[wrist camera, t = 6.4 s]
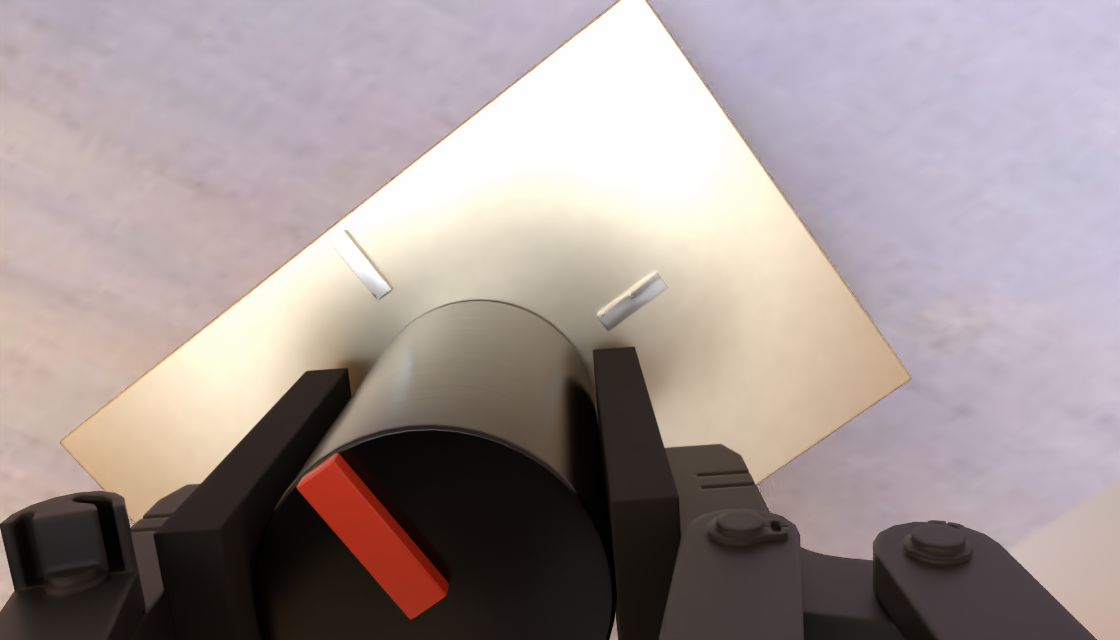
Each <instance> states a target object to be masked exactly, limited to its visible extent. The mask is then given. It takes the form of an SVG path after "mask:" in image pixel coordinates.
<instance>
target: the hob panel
mask: <svg viewBox="0 0 1120 640" xmlns="http://www.w3.org/2000/svg"><path fill="white" fill-rule="evenodd" d="M468 301H489V302H498V303H503V304H508V305H512V306H515V307H518V308H521V309H524V310H526V311H528V312H530V313H532V314H534V315H536V316H538V317H540V318H542V319H543V320H545V321H546V322H548V323H549V324H551V325H552V326H553V327H555V328H556V329H557V330H558V331H559V332H560V333H561V334H562V335H564V336H565V338H566V339H567V340H568V341H569V342H570V343H571V344H572V346H573V347H574V348H575V350H576V351H577V353H578V354H579V356H580V357H581V359H582V361H583V363H584V365H585V367H586V369H587V371H588V374H589V377H590V380H591V383H592V386H593V391H594V397H595V403H596V412H597V402H596V388H595V374H594V360H593V350H595V349H609V348H622V347H635V349H636V352H637V356H638V359H639V363H640V366H641V369H642V373H643V376H644V380H645V383H646V387H647V390H648V393H649V397H650V400H651V404H652V407H653V410H654V414H655V417H656V421H657V424H658V427H659V431H660V434H661V438H662V441H663V444H664V448H668V447H682V446H696V445H710V444H722V445H724V446H726V447H728V448H729V449H731V450H733V451H734V452H736V453H738V454H740V455H741V456H742V458H743V460H744V462H745V464H746V466H747V468H748V470H749V473H750V474H751V476H752V478H753V480H754V482H755V485H757V484H758V483H760V482H761V481H763V480H764V479H766V478H767V477H769V476H770V475H771V474H773V473H774V472H776V471H777V470H779V469H780V468H782V467H783V466H785V465H786V464H788V463H789V462H790V461H792V460H793V459H795V458H796V457H798V456H799V455H801V454H802V453H804V452H805V451H807V450H808V449H809V448H811V447H812V446H814V445H815V444H817V443H818V442H820V441H821V440H823V439H824V438H826V437H827V436H828V435H830V434H831V433H833V432H834V431H836V430H837V429H839V428H840V427H842V426H843V425H845V424H846V423H847V422H849V421H850V420H852V419H853V418H855V417H856V416H858V415H859V414H861V413H862V412H864V411H865V410H866V409H868V408H869V407H871V406H872V405H874V404H875V403H877V402H878V401H880V400H881V399H883V398H884V397H885V396H887V395H888V394H890V393H891V392H893V391H894V390H896V389H897V388H899V387H900V386H902V385H903V384H904V383H906V382H907V381H909V380H910V379H911V375H910V374H909V373H908V371H907V370H906V368H905V367H904V365H903V364H902V363H901V361H900V360H899V358H898V357H897V355H896V354H895V353H894V351H893V350H892V348H891V347H890V345H889V344H888V343H887V341H886V340H885V338H884V337H883V335H882V334H881V333H880V331H879V330H878V328H877V327H876V326H875V324H874V323H873V321H872V320H871V318H870V317H869V316H868V314H867V313H866V311H865V310H864V308H863V307H862V306H861V304H860V303H859V301H858V300H857V298H856V297H855V296H854V294H853V293H852V291H851V290H850V288H849V287H848V286H847V284H846V283H845V281H844V280H843V279H842V277H841V276H840V274H839V273H838V271H837V270H836V269H835V267H834V266H833V264H832V263H831V261H830V260H829V259H828V257H827V256H826V254H825V253H824V251H823V250H822V249H821V247H820V246H819V244H818V243H817V241H816V240H815V239H814V237H813V236H812V234H811V233H810V231H809V230H808V229H807V227H806V226H805V224H804V223H803V222H802V220H801V219H800V217H799V216H798V214H797V213H796V212H795V210H794V209H793V207H792V206H791V204H790V203H789V202H788V200H787V199H786V197H785V196H784V194H783V193H782V192H781V190H780V189H779V187H778V186H777V184H776V183H775V182H774V180H773V179H772V177H771V176H770V175H769V173H768V172H767V170H766V169H765V167H764V166H763V165H762V163H761V162H760V160H759V159H758V157H757V156H756V155H755V153H754V152H753V150H752V149H751V147H750V146H749V145H748V143H747V142H746V140H745V139H744V137H743V136H742V135H741V133H740V132H739V130H738V129H737V128H736V126H735V125H734V123H733V122H732V120H731V119H730V118H729V116H728V115H727V113H726V112H725V110H724V109H723V108H722V106H721V105H720V103H719V102H718V100H717V99H716V98H715V96H714V95H713V93H712V92H711V90H710V89H709V88H708V86H707V85H706V83H705V82H704V80H703V79H702V78H701V76H700V75H699V73H698V72H697V71H696V69H695V68H694V66H693V65H692V63H691V62H690V61H689V59H688V58H687V56H686V55H685V53H684V52H683V51H682V49H681V48H680V46H679V45H678V43H677V42H676V41H675V39H674V38H673V36H672V35H671V33H670V32H669V31H668V29H667V28H666V26H665V25H664V24H663V22H662V21H661V19H660V18H659V16H658V15H657V14H656V12H655V11H654V9H653V8H652V6H651V5H650V4H649V2H648V1H647V0H618V1H616V2H615V3H614V4H612V5H611V6H610V7H609V8H607V9H606V10H605V11H604V12H602V13H601V14H600V15H599V16H597V17H596V18H595V19H593V20H592V21H591V22H590V23H588V24H587V25H586V26H585V27H583V28H582V29H581V30H580V31H578V32H577V33H576V34H574V35H573V36H572V37H571V38H569V39H568V40H567V41H566V42H564V43H563V44H562V45H561V46H559V47H558V48H557V49H555V50H554V51H553V52H552V53H550V54H549V55H548V56H547V57H545V58H544V59H543V60H542V61H540V62H539V63H538V64H536V65H535V66H534V67H533V68H531V69H530V70H529V71H528V72H526V73H525V74H524V75H523V76H521V77H520V78H519V79H517V80H516V81H515V82H514V83H512V84H511V85H510V86H509V87H507V88H506V89H505V90H504V91H502V92H501V93H500V94H498V95H497V96H496V97H495V98H493V99H492V100H491V101H490V102H488V103H487V104H486V105H485V106H483V107H482V108H481V109H479V110H478V111H477V112H476V113H474V114H473V115H472V116H471V117H469V118H468V119H467V120H466V121H464V122H463V123H462V124H460V125H459V126H458V127H457V128H455V129H454V130H453V131H452V132H450V133H449V134H448V135H447V136H445V137H444V138H443V139H441V140H440V141H439V142H438V143H436V144H435V145H434V146H433V147H431V148H430V149H429V150H428V151H426V152H425V153H424V154H422V155H421V156H420V157H419V158H417V159H416V160H415V161H414V162H412V163H411V164H410V165H409V166H407V167H406V168H405V169H403V170H402V171H401V172H400V173H398V174H397V175H396V176H395V177H393V178H392V179H391V180H390V181H388V182H387V183H386V184H384V185H383V186H382V187H381V188H379V189H378V190H377V191H376V192H374V193H373V194H372V195H371V196H369V197H368V198H367V199H365V200H364V201H363V202H362V203H360V204H359V205H358V206H357V207H355V208H354V209H353V210H352V211H350V212H349V213H348V214H346V215H345V216H344V217H343V218H341V219H340V220H339V221H338V222H336V223H335V224H334V225H333V226H331V227H330V228H329V229H327V230H326V231H325V232H324V233H322V234H321V235H320V236H319V237H317V238H316V239H315V240H314V241H312V242H311V243H310V244H308V245H307V246H306V247H305V248H303V249H302V250H301V251H300V252H298V253H297V254H296V255H295V256H293V257H292V258H291V259H289V260H288V261H287V262H286V263H284V264H283V265H282V266H281V267H279V268H278V269H277V270H276V271H274V272H273V273H272V274H270V275H269V276H268V277H267V278H265V279H264V280H263V281H262V282H260V283H259V284H258V285H257V286H255V287H254V288H253V289H251V290H250V291H249V292H248V293H246V294H245V295H244V296H243V297H241V298H240V299H239V300H238V301H236V302H235V303H234V304H232V305H231V306H230V307H229V308H227V309H226V310H225V311H224V312H222V313H221V314H220V315H219V316H217V317H216V318H215V319H213V320H212V321H211V322H210V323H208V324H207V325H206V326H205V327H203V328H202V329H201V330H200V331H198V332H197V333H196V334H194V335H193V336H192V337H191V338H189V339H188V340H187V341H186V342H184V343H183V344H182V345H181V346H179V347H178V348H177V349H175V350H174V351H173V352H172V353H170V354H169V355H168V356H167V357H165V358H164V359H163V360H162V361H160V362H159V363H158V364H156V365H155V366H154V367H153V368H151V369H150V370H149V371H148V372H146V373H145V374H144V375H143V376H141V377H140V378H139V379H137V380H136V381H135V382H134V383H132V384H131V385H130V386H129V387H127V388H126V389H125V390H123V391H122V392H121V393H120V394H118V395H117V396H116V397H115V398H113V399H112V400H111V401H110V402H108V403H107V404H106V405H104V406H103V407H102V408H101V409H99V410H98V411H97V412H96V413H94V414H93V415H92V416H91V417H89V418H88V419H87V420H85V421H84V422H83V423H82V424H80V425H79V426H78V427H77V428H75V429H74V430H73V431H72V432H70V433H69V434H68V435H66V436H65V437H64V438H63V439H61V441H60V444H61V445H62V446H63V447H64V448H65V449H66V450H67V451H68V452H69V453H70V454H71V455H72V457H73V458H74V459H75V460H76V461H77V462H78V463H79V464H80V465H81V466H82V467H83V468H84V469H85V470H86V472H87V473H88V474H89V475H90V476H91V477H92V478H93V479H94V480H95V481H96V482H97V483H98V484H99V485H100V487H101V488H102V489H103V490H104V491H105V492H114V493H117V494H119V495H120V496H122V497H124V499H125V504H126V509H127V514H128V517H129V518H130V519H131V520H132V521H133V522H134V523H136V522H137V521H138V520H139V519H143V515H144V514H145V513H146V512H147V511H148V510H149V509H150V508H151V507H152V506H153V505H154V504H155V503H156V502H157V501H158V500H160V499H161V498H163V497H165V496H167V495H169V494H171V493H172V492H174V491H176V490H178V489H180V488H182V487H183V486H185V485H188V484H201V483H202V482H203V481H204V480H205V479H206V477H207V476H208V475H209V474H210V473H211V472H212V471H213V470H214V469H215V468H216V467H217V466H218V465H219V464H220V463H221V461H222V460H223V459H224V458H225V457H226V456H227V455H228V454H229V453H230V452H231V451H232V450H233V449H234V448H235V446H236V445H237V444H238V443H239V442H240V441H241V440H242V439H243V438H244V437H245V436H246V435H247V434H248V433H249V432H250V430H251V429H252V428H253V427H254V426H255V425H256V424H257V423H258V422H259V421H260V420H261V419H262V418H263V417H264V415H265V414H266V413H267V412H268V411H269V410H270V409H271V408H272V407H273V406H274V405H275V404H276V403H277V402H278V401H279V399H280V398H281V397H282V396H283V395H284V394H285V393H286V392H287V391H288V390H289V389H290V388H291V387H292V386H293V385H294V383H295V382H296V381H297V380H298V379H299V378H300V377H301V376H302V375H303V374H304V373H305V372H306V371H311V370H324V369H338V368H348V373H349V380H350V388H351V395H352V396H353V394H354V393H355V392H356V390H357V389H358V387H359V386H360V385H361V383H362V382H363V380H364V379H365V377H366V376H367V375H368V373H369V372H370V370H371V369H372V367H373V366H374V365H375V363H376V362H377V360H378V359H379V357H380V356H381V355H382V353H383V352H384V350H385V349H386V348H387V346H388V345H389V343H390V342H391V341H392V340H393V339H394V338H395V337H396V336H397V334H398V333H399V332H401V331H402V330H403V329H404V328H405V327H406V326H408V325H409V324H410V323H411V322H413V321H415V320H416V319H418V318H419V317H421V316H422V315H424V314H426V313H429V312H431V311H433V310H435V309H438V308H441V307H444V306H447V305H450V304H455V303H461V302H468ZM597 420H598V416H597Z"/></svg>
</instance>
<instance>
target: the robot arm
mask: <svg viewBox="0 0 1120 640" xmlns="http://www.w3.org/2000/svg"><path fill="white" fill-rule="evenodd" d="M593 360H594V374H595V388H596V402H597V416H598V429H599V437H600V446H601V455H602V463H603V472H604V480H605V489H606V498H607V506H608V515H609V524H610V532H611V541H612V550H613V559H614V568H615V577H616V596H617V600H616V610H615V612H616V622H617V631H618V640H1097V639H1095V637H1094V636H1093V635H1092V634H1091V633H1089V631H1088V630H1087V629H1086V628H1084V627H1083V625H1082V624H1081V623H1079V622H1078V621H1077V620H1076V619H1075V618H1074V617H1073V616H1072V615H1071V614H1070V613H1069V612H1068V611H1067V610H1066V609H1065V608H1064V607H1063V606H1062V605H1061V604H1060V603H1059V602H1058V601H1057V600H1056V599H1055V598H1054V597H1053V596H1052V595H1051V594H1050V593H1049V592H1048V591H1047V590H1046V589H1045V588H1044V587H1043V586H1042V585H1041V584H1040V583H1039V582H1038V581H1037V580H1036V579H1034V578H1033V576H1032V575H1031V574H1030V573H1029V572H1028V571H1027V570H1026V569H1024V567H1022V565H1020V564H1019V563H1018V562H1017V561H1016V560H1015V559H1014V558H1013V557H1012V556H1011V555H1010V554H1009V553H1008V552H1007V551H1006V550H1005V549H1004V548H1003V547H1002V546H1001V545H1000V544H999V543H997V542H996V541H994V540H993V539H991V538H990V537H988V536H987V535H985V534H983V533H980V532H977V531H975V530H972V529H969V528H966V527H964V526H963V525H960V524H956V523H952V522H948V524H946V521H937V520H931V521H928V522H912V523H906V524H901V525H895V526H892V527H890V528H888V529H886V530H884V531H882V532H880V533H879V534H878V536H877V537H876V539H875V540H874V542H873V560H862V559H852V558H842V557H835V556H829V555H823V554H820V553H816V552H812V551H809V550H806V549H804V548H802V547H800V534H799V532H798V530H797V528H796V526H795V525H794V524H793V523H791V522H790V521H788V520H787V519H785V518H784V517H782V516H779V515H776V514H773V513H770V512H769V510H768V508H767V506H766V504H765V502H764V500H763V498H762V496H761V494H760V492H759V490H758V488H757V486H756V485H755V482H754V480H753V478H752V476H751V474H750V473H749V470H748V468H747V466H746V464H745V462H744V460H743V458H742V456H741V455H740V454H738V453H736V452H734V451H733V450H731V449H729V448H728V447H726V446H724V445H722V444H710V445H696V446H682V447H668V448H664V444H663V441H662V438H661V434H660V431H659V427H658V424H657V421H656V417H655V414H654V410H653V407H652V404H651V400H650V397H649V393H648V390H647V387H646V383H645V380H644V376H643V373H642V369H641V366H640V363H639V359H638V356H637V352H636V349H635V347H622V348H609V349H595V350H593ZM351 397H352V395H351V388H350V380H349V373H348V368H338V369H324V370H311V371H306V372H305V373H304V374H303V375H302V376H301V377H300V378H299V379H298V380H297V381H296V382H295V383H294V385H293V386H292V387H291V388H290V389H289V390H288V391H287V392H286V393H285V394H284V395H283V396H282V397H281V398H280V399H279V401H278V402H277V403H276V404H275V405H274V406H273V407H272V408H271V409H270V410H269V411H268V412H267V413H266V414H265V415H264V417H263V418H262V419H261V420H260V421H259V422H258V423H257V424H256V425H255V426H254V427H253V428H252V429H251V430H250V432H249V433H248V434H247V435H246V436H245V437H244V438H243V439H242V440H241V441H240V442H239V443H238V444H237V445H236V446H235V448H234V449H233V450H232V451H231V452H230V453H229V454H228V455H227V456H226V457H225V458H224V459H223V460H222V461H221V463H220V464H219V465H218V466H217V467H216V468H215V469H214V470H213V471H212V472H211V473H210V474H209V475H208V476H207V477H206V479H205V480H204V481H203V482H202V483H201V484H188V485H185V486H183V487H182V488H180V489H178V490H176V491H174V492H172V493H171V494H169V495H167V496H165V497H163V498H161V499H160V500H158V501H157V502H156V503H155V504H154V505H153V506H152V507H151V508H150V509H149V510H148V511H147V512H146V513H145V514H144V515H143V519H139V520H138V521H137V522H136V523H135V524H134V525H133V526H132V527H131V528H130V524H129V519H128V514H127V509H126V504H125V499H124V497H122V496H120V495H119V494H117V493H114V492H104V491H93V492H81V493H75V494H70V495H65V496H60V497H55V498H52V499H49V500H46V501H43V502H40V503H37V504H34V505H31V506H29V507H27V508H25V509H23V510H21V511H18V512H16V513H14V514H12V515H11V516H10V517H8V518H7V519H6V520H5V521H3V522H2V523H1V524H0V529H1V533H2V538H3V542H4V546H5V551H6V555H7V559H8V564H9V568H10V572H11V577H12V581H13V585H14V590H15V591H14V593H13V594H12V595H11V597H10V598H9V600H8V601H7V603H6V604H5V606H4V607H3V609H2V610H1V611H0V640H264V639H263V636H262V633H261V629H260V626H259V622H258V619H257V614H256V607H255V599H254V568H255V561H256V555H257V549H258V546H259V543H260V540H261V537H262V533H263V530H264V528H265V526H266V524H267V522H268V519H269V517H270V515H271V513H272V511H273V509H274V508H275V506H276V505H277V503H278V502H279V500H280V499H281V497H282V496H283V494H284V493H285V491H286V490H287V488H288V487H289V486H290V484H291V483H292V481H293V480H294V478H295V477H296V476H297V474H298V473H299V471H300V470H301V468H302V467H303V466H304V464H305V463H306V461H307V460H308V459H309V457H310V456H311V454H312V453H313V451H314V450H315V449H316V447H317V446H318V444H319V443H320V441H321V440H322V439H323V437H324V436H325V434H326V433H327V431H328V430H329V429H330V427H331V426H332V424H333V423H334V422H335V420H336V419H337V417H338V416H339V414H340V413H341V412H342V410H343V409H344V407H345V406H346V404H347V403H348V402H349V400H350V399H351Z"/></svg>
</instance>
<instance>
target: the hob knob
mask: <svg viewBox="0 0 1120 640" xmlns="http://www.w3.org/2000/svg"><path fill="white" fill-rule="evenodd" d="M254 599H255V607H256V614H257V619H258V622H259V626H260V629H261V633H262V636H263V639H264V640H609V639H610V635H611V631H612V628H613V624H614V619H615V610H616V600H617V596H616V577H615V568H614V559H613V550H612V541H611V532H610V524H609V515H608V506H607V498H606V489H605V480H604V472H603V463H602V455H601V446H600V437H599V429H598V420H597V412H596V403H595V397H594V391H593V386H592V383H591V380H590V377H589V374H588V371H587V369H586V367H585V365H584V363H583V361H582V359H581V357H580V356H579V354H578V353H577V351H576V350H575V348H574V347H573V346H572V344H571V343H570V342H569V341H568V340H567V339H566V338H565V336H564V335H562V334H561V333H560V332H559V331H558V330H557V329H556V328H555V327H553V326H552V325H551V324H549V323H548V322H546V321H545V320H543V319H542V318H540V317H538V316H536V315H534V314H532V313H530V312H528V311H526V310H524V309H521V308H518V307H515V306H512V305H508V304H503V303H498V302H489V301H468V302H461V303H455V304H450V305H447V306H444V307H441V308H438V309H435V310H433V311H431V312H429V313H426V314H424V315H422V316H421V317H419V318H418V319H416V320H415V321H413V322H411V323H410V324H409V325H408V326H406V327H405V328H404V329H403V330H402V331H401V332H399V333H398V334H397V336H396V337H395V338H394V339H393V340H392V341H391V342H390V343H389V345H388V346H387V348H386V349H385V350H384V352H383V353H382V355H381V356H380V357H379V359H378V360H377V362H376V363H375V365H374V366H373V367H372V369H371V370H370V372H369V373H368V375H367V376H366V377H365V379H364V380H363V382H362V383H361V385H360V386H359V387H358V389H357V390H356V392H355V393H354V394H353V396H352V397H351V399H350V400H349V402H348V403H347V404H346V406H345V407H344V409H343V410H342V412H341V413H340V414H339V416H338V417H337V419H336V420H335V422H334V423H333V424H332V426H331V427H330V429H329V430H328V431H327V433H326V434H325V436H324V437H323V439H322V440H321V441H320V443H319V444H318V446H317V447H316V449H315V450H314V451H313V453H312V454H311V456H310V457H309V459H308V460H307V461H306V463H305V464H304V466H303V467H302V468H301V470H300V471H299V473H298V474H297V476H296V477H295V478H294V480H293V481H292V483H291V484H290V486H289V487H288V488H287V490H286V491H285V493H284V494H283V496H282V497H281V499H280V500H279V502H278V503H277V505H276V506H275V508H274V509H273V511H272V513H271V515H270V517H269V519H268V522H267V524H266V526H265V528H264V530H263V533H262V537H261V540H260V543H259V546H258V549H257V555H256V561H255V568H254Z"/></svg>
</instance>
